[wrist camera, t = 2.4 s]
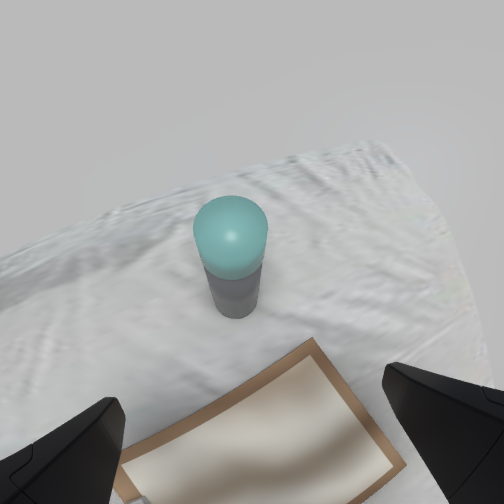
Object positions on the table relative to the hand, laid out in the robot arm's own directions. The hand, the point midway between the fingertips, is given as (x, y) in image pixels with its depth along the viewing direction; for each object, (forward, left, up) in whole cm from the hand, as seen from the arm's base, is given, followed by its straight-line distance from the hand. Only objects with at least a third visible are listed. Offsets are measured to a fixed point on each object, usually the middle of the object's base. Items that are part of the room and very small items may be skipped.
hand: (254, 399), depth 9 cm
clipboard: (-6, +4, -13) cm, 15 cm away
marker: (+7, -3, -13) cm, 16 cm away
